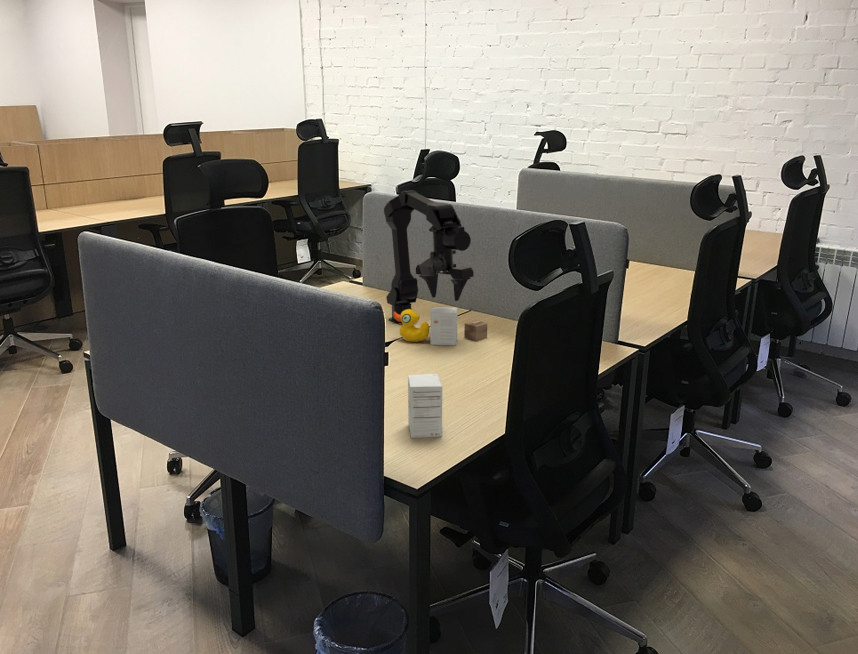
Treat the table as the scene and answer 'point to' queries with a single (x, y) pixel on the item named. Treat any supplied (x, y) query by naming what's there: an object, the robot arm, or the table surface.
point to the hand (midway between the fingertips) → (445, 299)
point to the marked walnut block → (475, 330)
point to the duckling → (412, 326)
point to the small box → (443, 326)
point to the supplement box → (425, 405)
